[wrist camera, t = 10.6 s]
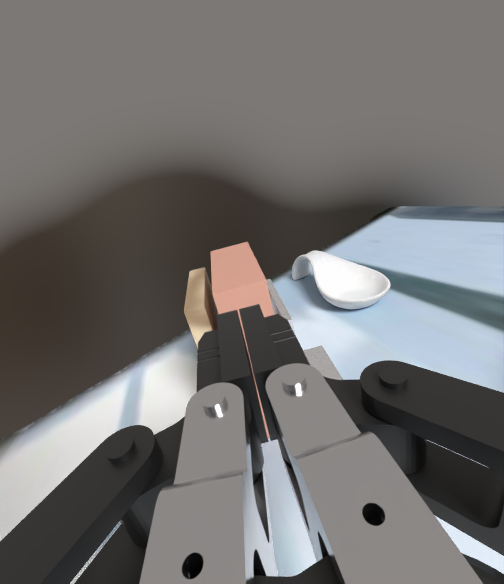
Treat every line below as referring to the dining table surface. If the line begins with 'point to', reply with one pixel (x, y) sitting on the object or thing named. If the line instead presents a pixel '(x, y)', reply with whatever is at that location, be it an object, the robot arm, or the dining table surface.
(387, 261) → the dining table surface
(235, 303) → the book
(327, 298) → the spoon rest
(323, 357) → the bookend
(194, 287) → the board
